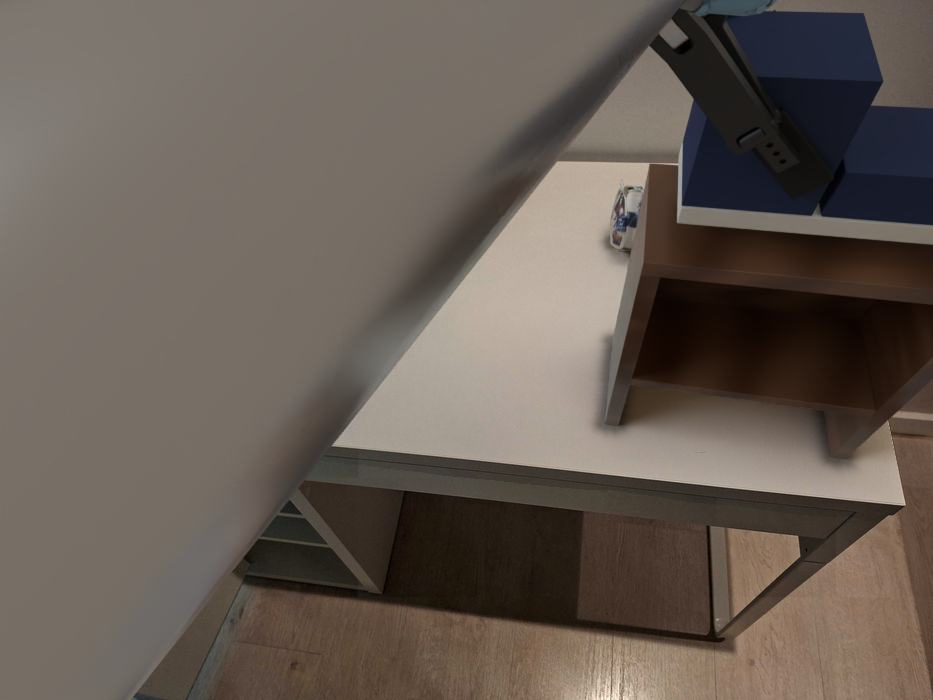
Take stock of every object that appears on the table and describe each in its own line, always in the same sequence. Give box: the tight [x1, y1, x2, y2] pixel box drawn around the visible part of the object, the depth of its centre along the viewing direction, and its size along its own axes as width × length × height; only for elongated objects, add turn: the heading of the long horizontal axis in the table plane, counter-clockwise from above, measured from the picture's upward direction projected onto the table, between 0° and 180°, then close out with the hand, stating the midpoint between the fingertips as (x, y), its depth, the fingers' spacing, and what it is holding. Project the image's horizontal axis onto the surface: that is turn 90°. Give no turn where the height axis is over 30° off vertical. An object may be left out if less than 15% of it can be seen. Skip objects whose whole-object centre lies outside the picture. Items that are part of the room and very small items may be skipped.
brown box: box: [604, 163, 933, 460], centre depth 59 cm, size 26×12×28 cm, turn 78°
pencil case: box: [609, 178, 644, 252], centre depth 81 cm, size 22×8×10 cm, turn 85°
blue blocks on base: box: [677, 10, 933, 245], centre depth 41 cm, size 22×8×12 cm, turn 78°
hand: (805, 146), depth 42 cm, fingers closed on blue blocks on base, 8 cm apart
